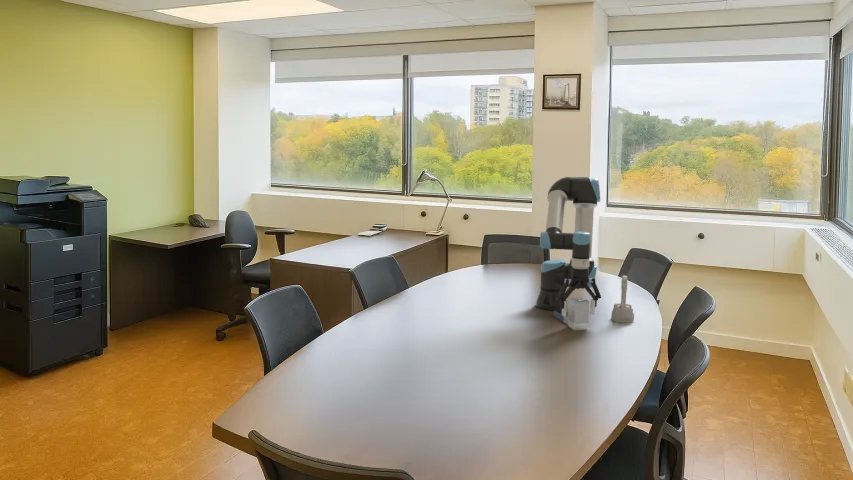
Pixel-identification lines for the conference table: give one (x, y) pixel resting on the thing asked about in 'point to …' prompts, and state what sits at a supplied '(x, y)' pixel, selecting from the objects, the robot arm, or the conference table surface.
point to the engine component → (623, 306)
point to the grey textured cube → (578, 310)
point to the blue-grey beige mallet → (565, 319)
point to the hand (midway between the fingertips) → (578, 314)
